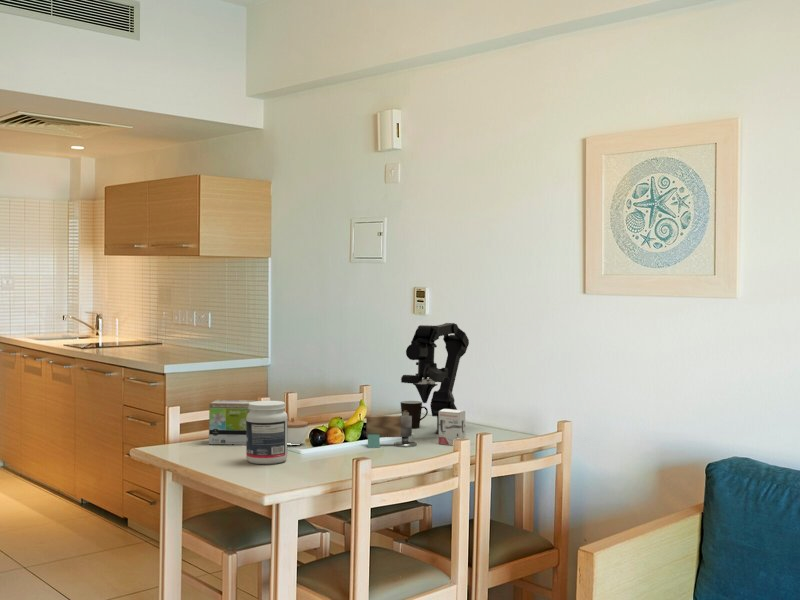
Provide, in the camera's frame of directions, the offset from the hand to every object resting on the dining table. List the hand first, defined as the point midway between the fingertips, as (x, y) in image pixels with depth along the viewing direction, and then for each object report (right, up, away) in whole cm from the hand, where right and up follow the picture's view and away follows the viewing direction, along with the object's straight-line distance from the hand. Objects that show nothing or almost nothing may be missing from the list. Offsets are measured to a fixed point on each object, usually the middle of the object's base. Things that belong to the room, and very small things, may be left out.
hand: (424, 403), depth 313 cm
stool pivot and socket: (-12, -13, -14) cm, 22 cm away
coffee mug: (-4, -13, +25) cm, 28 cm away
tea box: (-68, -13, -9) cm, 70 cm away
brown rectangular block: (-13, -10, -13) cm, 21 cm away
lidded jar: (-46, -13, -13) cm, 50 cm away
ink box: (+9, -13, -11) cm, 19 cm away
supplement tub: (-51, -13, -42) cm, 67 cm away
